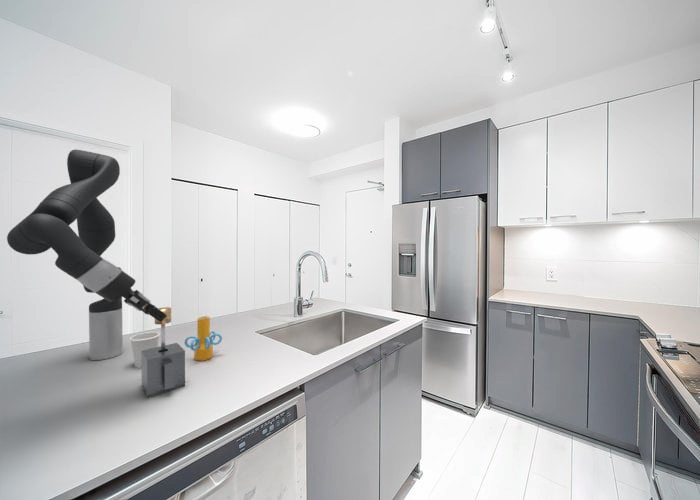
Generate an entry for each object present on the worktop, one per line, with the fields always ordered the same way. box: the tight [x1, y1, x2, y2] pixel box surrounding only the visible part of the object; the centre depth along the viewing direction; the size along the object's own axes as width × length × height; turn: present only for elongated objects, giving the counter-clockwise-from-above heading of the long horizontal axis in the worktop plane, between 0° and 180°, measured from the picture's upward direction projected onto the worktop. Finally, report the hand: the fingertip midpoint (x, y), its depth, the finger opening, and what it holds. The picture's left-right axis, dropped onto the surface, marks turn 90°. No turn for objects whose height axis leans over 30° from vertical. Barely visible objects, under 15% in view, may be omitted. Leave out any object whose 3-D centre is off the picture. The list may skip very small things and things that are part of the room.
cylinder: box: [184, 315, 223, 362], centre depth 98 cm, size 12×10×15 cm
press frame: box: [141, 342, 186, 400], centre depth 78 cm, size 12×9×11 cm
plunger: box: [154, 306, 172, 352], centre depth 78 cm, size 7×7×15 cm
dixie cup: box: [129, 331, 161, 369], centre depth 93 cm, size 8×8×10 cm
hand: (160, 315), depth 78 cm, fingers open, 8 cm apart
